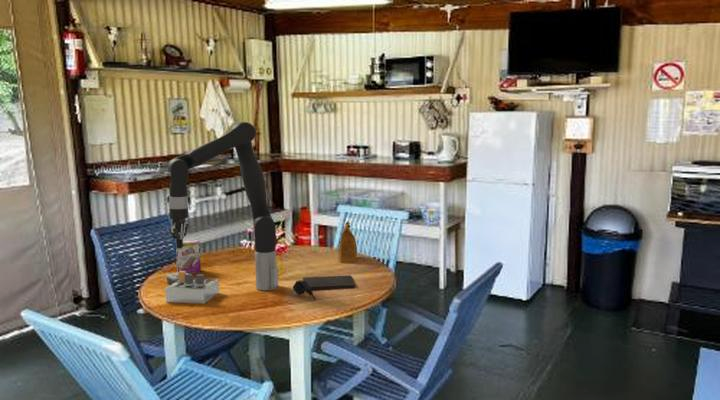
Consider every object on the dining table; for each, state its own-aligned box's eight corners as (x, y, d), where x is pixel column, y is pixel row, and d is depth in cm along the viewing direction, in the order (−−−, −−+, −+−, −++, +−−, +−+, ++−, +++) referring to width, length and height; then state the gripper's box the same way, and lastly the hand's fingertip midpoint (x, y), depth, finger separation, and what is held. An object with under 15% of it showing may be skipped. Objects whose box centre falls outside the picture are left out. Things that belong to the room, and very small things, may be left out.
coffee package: (357, 260, 295) (356, 220, 292) (357, 266, 283) (356, 224, 280) (338, 260, 295) (338, 220, 292) (338, 266, 283) (337, 225, 280)
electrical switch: (174, 279, 249) (164, 271, 255) (173, 289, 250) (164, 281, 256) (192, 275, 255) (183, 268, 261) (192, 285, 257) (182, 277, 263)
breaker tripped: (188, 280, 237) (187, 270, 236) (183, 283, 233) (183, 273, 232) (181, 280, 237) (180, 270, 237) (176, 282, 233) (176, 272, 233)
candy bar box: (177, 276, 268) (176, 243, 265) (177, 273, 272) (175, 241, 270) (201, 273, 272) (199, 241, 269) (200, 271, 276) (198, 239, 274)
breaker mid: (194, 283, 232) (194, 273, 232) (190, 286, 228) (190, 275, 228) (187, 283, 233) (187, 273, 232) (183, 285, 229) (183, 275, 228)
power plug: (311, 299, 226) (295, 278, 231) (303, 311, 230) (288, 290, 235) (320, 296, 231) (304, 275, 236) (313, 307, 235) (297, 287, 239)
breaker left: (206, 283, 231) (205, 273, 231) (201, 286, 228) (201, 276, 227) (198, 283, 232) (198, 273, 231) (194, 286, 228) (194, 276, 227)
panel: (219, 292, 240) (218, 279, 240) (204, 303, 226) (203, 289, 225) (182, 291, 243) (182, 278, 242) (166, 302, 228) (165, 287, 227)
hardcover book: (302, 282, 257) (302, 277, 257) (351, 280, 260) (351, 275, 260) (303, 292, 242) (303, 287, 241) (355, 289, 245) (354, 284, 244)
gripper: (179, 209, 219) (180, 251, 221) (194, 205, 232) (195, 245, 234) (162, 208, 220) (163, 250, 223) (178, 204, 233) (179, 244, 235)
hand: (179, 247), depth 228 cm, fingers closed
